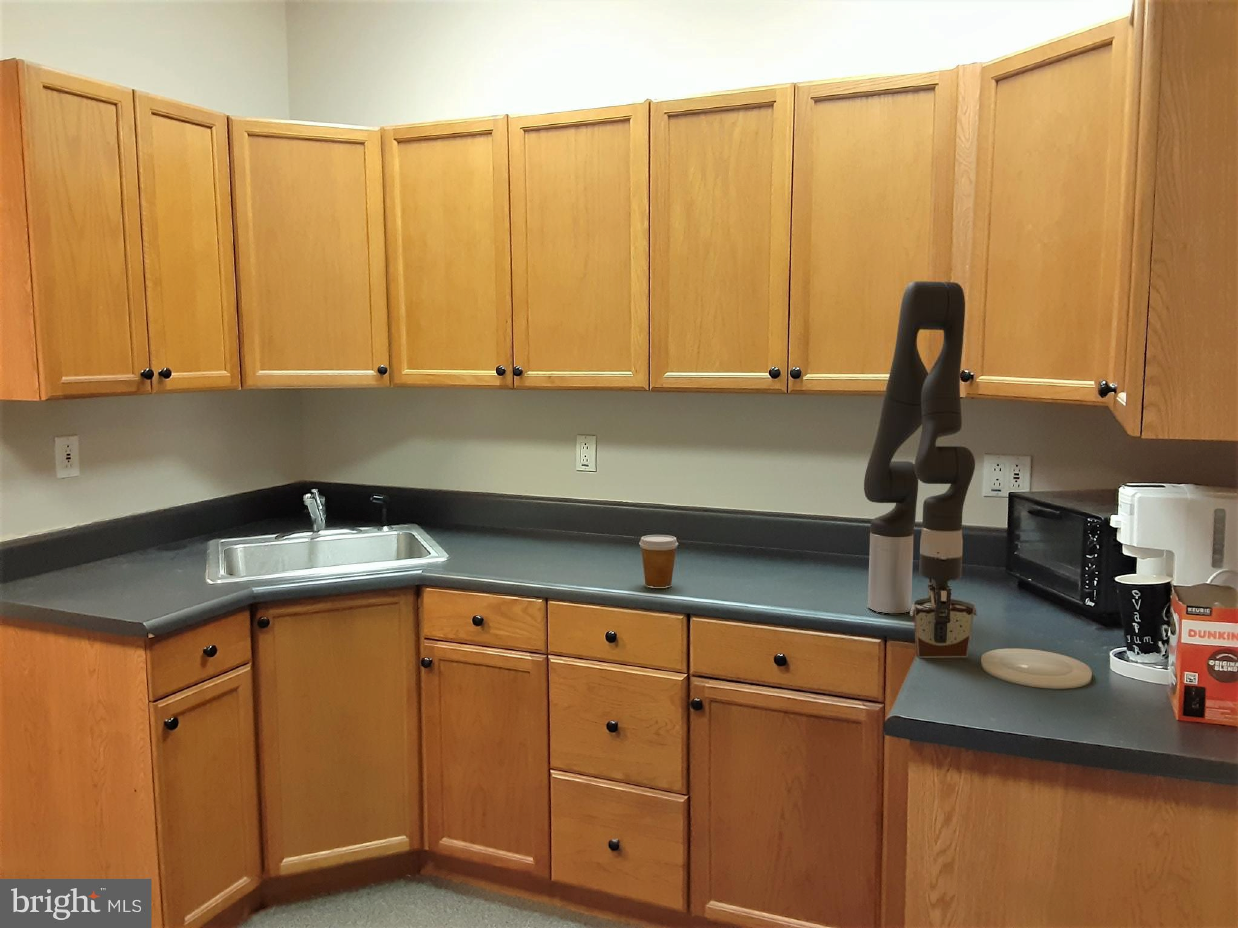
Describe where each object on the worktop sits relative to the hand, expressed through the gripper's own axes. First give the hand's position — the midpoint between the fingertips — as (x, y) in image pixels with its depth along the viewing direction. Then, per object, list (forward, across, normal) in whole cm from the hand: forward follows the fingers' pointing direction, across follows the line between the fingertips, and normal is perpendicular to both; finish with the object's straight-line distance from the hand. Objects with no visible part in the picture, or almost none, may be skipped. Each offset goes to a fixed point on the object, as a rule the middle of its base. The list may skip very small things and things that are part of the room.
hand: (937, 635), depth 173 cm
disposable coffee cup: (+3, -38, -61) cm, 72 cm away
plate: (+3, +7, +16) cm, 18 cm away
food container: (+4, 0, 0) cm, 4 cm away
